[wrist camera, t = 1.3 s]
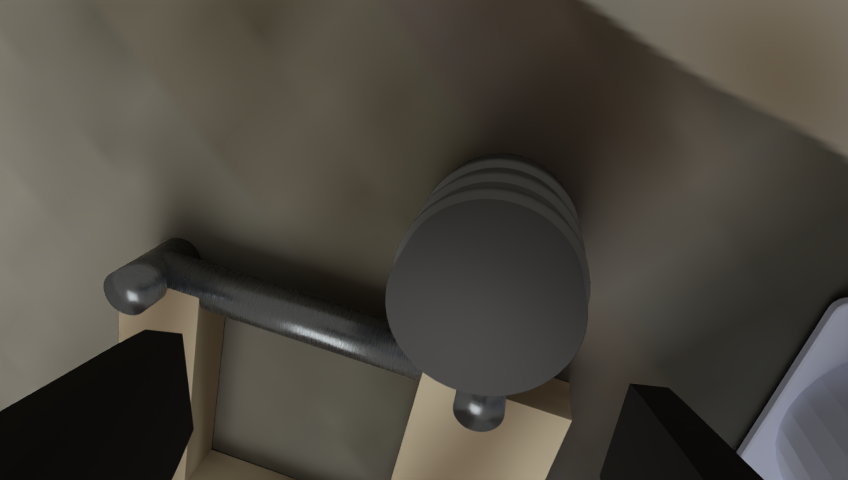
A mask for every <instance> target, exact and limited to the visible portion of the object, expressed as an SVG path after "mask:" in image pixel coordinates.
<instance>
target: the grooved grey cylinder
mask: <svg viewBox="0 0 848 480" xmlns="http://www.w3.org/2000/svg"><path fill="white" fill-rule="evenodd" d="M589 297H590V275H589V268H588V263H587V259H586V256H585V249H584V243H583V238H582V235H581V228H580V222H579V218H578V215H577V211H576V209H575V206H574V204H573V202H572V200H571V198H570V197H569V195H568V194H567V192H566V191H565V190H564V188H563V186H562V185H561V183H560V182H559V181H558V180H557V178H556V177H555V176H554V175H553V174H552V173H551V172H550V171H548V170H547V169H546V168H544V167H543V166H542V165H540V164H538V163H536V162H534V161H532V160H530V159H527V158H525V157H522V156H517V155H512V154H491V155H486V156H482V157H478V158H475V159H473V160H471V161H469V162H467V163H465V164H463V165H462V166H460V167H459V168H457V169H456V170H455V171H453V172H452V173H450V174H449V175H448V176H446V177H445V178H444V179H443V180H442V181H441V182H440V183H439V184H438V185H437V186H436V187H435V189H434V190H433V192H432V193H431V195H430V196H429V198H428V199H427V201H426V203H425V204H424V206H423V207H422V209H421V210H420V212H419V213H418V215H417V216H416V218H415V220H414V222H413V223H412V225H411V226H410V228H409V229H408V230H407V232H406V234H405V235H404V237H403V239H402V241H401V243H400V245H399V247H398V249H397V253H396V256H395V259H394V265H393V268H392V270H391V272H390V276H389V279H388V282H387V288H386V297H385V306H386V314H387V319H388V322H389V326H390V329H391V331H392V334H393V336H394V338H395V340H396V342H397V343H398V345H399V347H400V348H401V350H402V351H403V352H404V354H405V355H406V356H407V358H408V359H409V360H410V361H411V362H412V363H413V364H414V365H415V366H416V367H417V368H419V369H420V370H421V371H422V372H423V373H425V374H426V375H428V376H429V377H431V378H432V379H434V380H435V381H437V382H439V383H441V384H443V385H445V386H447V387H450V388H452V389H455V390H458V391H462V392H465V393H469V394H475V395H482V396H504V395H511V394H517V393H521V392H524V391H528V390H531V389H533V388H535V387H538V386H540V385H542V384H544V383H546V382H547V381H549V380H551V379H552V378H553V377H555V376H556V375H557V374H559V373H560V372H561V371H562V370H563V369H564V368H565V367H566V366H567V365H568V364H569V363H570V361H571V360H572V359H573V357H574V356H575V355H576V353H577V351H578V349H579V347H580V345H581V343H582V341H583V338H584V335H585V332H586V326H587V321H588V303H589Z"/></svg>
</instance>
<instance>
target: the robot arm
mask: <svg viewBox="0 0 848 480" xmlns="http://www.w3.org/2000/svg"><path fill="white" fill-rule="evenodd" d="M193 430H194V426H193V418H192V409H191V401H190V392H189V384H188V376H187V367H186V359H185V350H184V342H183V334H182V333H174V332H165V331H156V330H147V329H145V330H143V331H141V332H139V333H137V334H135V335H133V336H131V337H129V338H128V339H126V340H124V341H122V342H120V343H119V344H117V345H115V346H113V347H111V348H110V349H108V350H106V351H104V352H103V353H101V354H99V355H98V356H96V357H94V358H92V359H91V360H89V361H87V362H85V363H84V364H82V365H80V366H79V367H77V368H75V369H73V370H72V371H70V372H68V373H67V374H65V375H63V376H61V377H60V378H58V379H56V380H54V381H53V382H51V383H49V384H47V385H46V386H44V387H42V388H40V389H39V390H37V391H35V392H33V393H32V394H30V395H28V396H26V397H25V398H23V399H21V400H19V401H18V402H16V403H14V404H12V405H11V406H9V407H7V408H5V409H3V410H2V411H0V480H172V478H173V476H174V474H175V472H176V470H177V468H178V465H179V463H180V461H181V459H182V456H183V454H184V451H185V449H186V447H187V444H188V442H189V440H190V437H191V435H192V433H193ZM600 479H601V480H848V297H847V298H842V299H839V300H837V301H835V302H833V303H832V304H831V305H830V306H829V307H828V309H827V310H826V312H825V313H824V315H823V317H822V318H821V320H820V321H819V323H818V324H817V326H816V328H815V329H814V331H813V332H812V334H811V335H810V337H809V339H808V340H807V342H806V343H805V345H804V346H803V348H802V350H801V351H800V353H799V354H798V356H797V357H796V359H795V361H794V362H793V364H792V365H791V367H790V368H789V370H788V372H787V373H786V375H785V376H784V378H783V379H782V381H781V383H780V384H779V386H778V387H777V389H776V390H775V392H774V394H773V395H772V397H771V398H770V400H769V401H768V403H767V405H766V406H765V408H764V409H763V411H762V413H761V414H760V416H759V417H758V419H757V420H756V422H755V424H754V425H753V427H752V428H751V430H750V431H749V433H748V435H747V436H746V438H745V439H744V441H743V442H742V444H741V446H740V447H739V449H738V450H737V452H735V451H734V450H733V449H732V448H731V447H730V446H729V445H728V444H727V443H726V442H725V441H724V440H723V439H722V438H721V437H720V436H719V435H718V434H717V433H716V432H715V431H714V430H713V429H712V428H710V427H709V426H708V425H707V424H706V423H705V422H704V421H703V420H702V419H701V418H700V417H699V416H698V415H697V414H696V413H695V412H694V411H693V410H692V409H691V408H690V407H689V406H688V405H687V404H686V403H685V402H684V401H682V400H681V399H680V398H679V397H678V396H677V395H676V394H675V393H674V392H673V391H671V390H670V389H669V388H666V387H657V386H648V385H639V384H630V385H629V388H628V391H627V394H626V397H625V400H624V403H623V406H622V409H621V412H620V415H619V419H618V422H617V425H616V428H615V431H614V434H613V437H612V440H611V443H610V446H609V449H608V452H607V455H606V458H605V461H604V465H603V468H602V471H601V474H600Z"/></svg>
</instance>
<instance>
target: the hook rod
mask: <svg viewBox="0 0 848 480" xmlns="http://www.w3.org/2000/svg"><path fill="white" fill-rule="evenodd" d="M167 288H169V289H173V290H176V291H179V292H182V293H185V294H188V295H191V296H194V297H197V298H199V304H200V307H201V308H202V309H203V310H206V311H209V312H212V313H216V314H219V315H222V316H225V317H228V318H231V319H234V320H237V321H240V322H243V323H246V324H249V325H252V326H255V327H258V328H261V329H264V330H267V331H270V332H273V333H276V334H279V335H282V336H285V337H288V338H291V339H294V340H297V341H300V342H303V343H306V344H310V345H313V346H316V347H319V348H322V349H325V350H328V351H331V352H334V353H337V354H340V355H343V356H346V357H349V358H352V359H355V360H358V361H361V362H364V363H367V364H370V365H373V366H376V367H379V368H382V369H385V370H388V371H391V372H394V373H397V374H400V375H404V376H407V377H410V378H413V379H416V380H419V381H420V380H421V377H422V373H423V372H422V371H421V370H420V369H419V368H417V367H416V366H415V365H414V364H413V363H412V362H411V361H410V360H409V359H408V358H407V356H406V355H405V354H404V352H403V351H402V350H401V348H400V347H399V345H398V343H397V342H396V340H395V338H394V336H393V334H392V331H391V329H390V326H389V322H388V320H385V319H382V318H379V317H376V316H373V315H370V314H367V313H364V312H360V311H357V310H354V309H351V308H348V307H345V306H342V305H339V304H336V303H332V302H329V301H326V300H323V299H320V298H317V297H314V296H311V295H308V294H304V293H301V292H298V291H295V290H292V289H289V288H286V287H283V286H280V285H276V284H273V283H270V282H267V281H264V280H261V279H258V278H255V277H252V276H248V275H245V274H242V273H239V272H236V271H233V270H230V269H227V268H223V267H220V266H217V265H214V264H211V263H208V262H205V261H202V260H200V257H199V254H198V252H197V251H196V249H195V248H194V247H193V246H192V245H191V244H190V243H189V242H187V241H185V240H183V239H180V238H173V239H169V240H168V241H166V242H164V243H162V244H161V245H159V246H157V247H156V248H154V249H152V250H150V251H149V252H147V253H145V254H144V255H142V256H140V257H138V258H137V259H135V260H133V261H131V262H130V263H128V264H126V265H125V266H123V267H121V268H119V269H118V270H116V271H114V272H113V273H111V274H109V275H108V276H107V277H106V279H105V281H104V292H105V295H106V298H107V299H108V301H109V302H110V304H111V305H112V306H113V307H114V308H115V309H117V310H118V311H119V312H121V313H123V314H126V315H133V316H134V315H139V314H141V313H142V312H144V311H145V310H147V309H148V308H149V307H151V306H152V305H154V304H155V303H156V302H158V301H159V300H160V299H162V298H163V297H164V296H165V294H166V291H167ZM505 405H506V395H504V396H482V395H475V394H469V393H465V392H462V391H458V390H456V394H455V398H454V403H453V413H454V416H455V418H456V419H457V421H458V422H459V423H460V424H461V425H462V426H464V427H465V428H467V429H470V430H472V431H477V432H487V431H491V430H493V429H495V428H497V427H498V426H499V425H500V424H501V423H502V421H503V419H504V415H505Z"/></svg>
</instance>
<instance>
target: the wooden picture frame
mask: <svg viewBox="0 0 848 480" xmlns="http://www.w3.org/2000/svg"><path fill="white" fill-rule="evenodd" d="M224 324H225V316H222V315H219V314H216V313H212V312H209V311H206V310H203V309H202V308H201V307H200V304H199V298H197V297H194V296H191V295H188V294H185V293H182V292H179V291H176V290H173V289H169V288H167V291H166V294H165V296H164V297H163V298H162V299H160V300H159V301H158V302H156V303H155V304H154V305H152V306H151V307H149V308H148V309H147V310H145V311H144V312H142V313H141V314H139V315H134V316H133V315H126V314H123V313H121V312H119V343H120V342H122V341H124V340H126V339H128V338H129V337H131V336H133V335H135V334H137V333H139V332H141V331H143V330H145V329H147V330H156V331H165V332H174V333H182V334H183V342H184V350H185V359H186V367H187V376H188V384H189V392H190V401H191V409H192V418H193V426H194V430H193V433H192V435H191V437H190V440H189V442H188V444H187V447H186V449H185V451H184V454H183V456H182V459H181V461H180V463H179V465H178V468H177V470H176V472H175V474H174V476H173V478H172V480H296V479H293V478H290V477H288V476H285V475H282V474H279V473H276V472H273V471H271V470H268V469H265V468H262V467H259V466H256V465H254V464H251V463H248V462H245V461H242V460H240V459H237V458H234V457H231V456H228V455H225V454H223V453H220V452H217V451H214V450H211V448H212V439H213V429H214V419H215V410H216V400H217V391H218V381H219V372H220V362H221V352H222V343H223V333H224ZM455 394H456V390H455V389H452V388H450V387H447V386H445V385H443V384H441V383H439V382H437V381H435V380H434V379H432V378H431V377H429V376H428V375H426V374H425V373H422V377H421V380H420V383H419V387H418V390H417V394H416V397H415V400H414V404H413V407H412V410H411V414H410V417H409V421H408V424H407V427H406V431H405V434H404V438H403V441H402V444H401V448H400V451H399V455H398V458H397V461H396V465H395V468H394V471H393V475H392V478H391V480H545V479H546V477H547V474H548V472H549V470H550V468H551V466H552V463H553V461H554V459H555V457H556V455H557V452H558V450H559V448H560V446H561V444H562V441H563V439H564V437H565V435H566V433H567V430H568V428H569V426H570V424H571V422H572V414H571V401H570V389H569V383H568V382H565V381H562V380H558V379H555V378H552V379H551V380H549V381H547V382H546V383H544V384H542V385H540V386H538V387H535V388H533V389H531V390H528V391H524V392H521V393H517V394H511V395H506V405H505V415H504V419H503V421H502V423H501V424H500V425H499V426H498V427H497V428H495V429H493V430H491V431H487V432H477V431H472V430H470V429H467V428H465V427H464V426H462V425H461V424H460V423H459V422H458V421H457V419H456V418H455V416H454V413H453V403H454V398H455Z"/></svg>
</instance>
